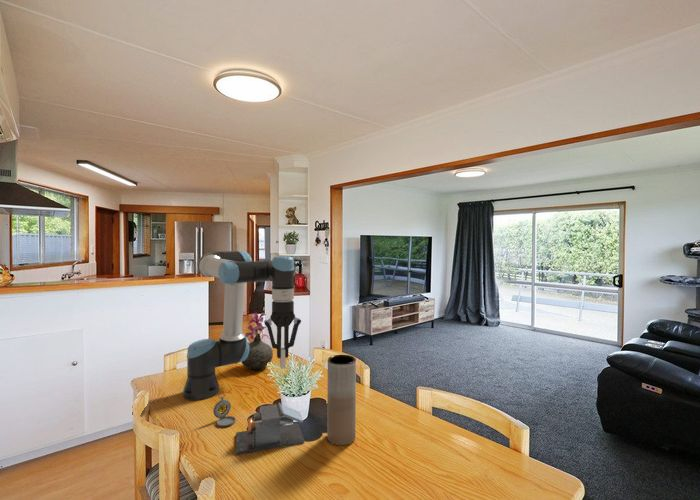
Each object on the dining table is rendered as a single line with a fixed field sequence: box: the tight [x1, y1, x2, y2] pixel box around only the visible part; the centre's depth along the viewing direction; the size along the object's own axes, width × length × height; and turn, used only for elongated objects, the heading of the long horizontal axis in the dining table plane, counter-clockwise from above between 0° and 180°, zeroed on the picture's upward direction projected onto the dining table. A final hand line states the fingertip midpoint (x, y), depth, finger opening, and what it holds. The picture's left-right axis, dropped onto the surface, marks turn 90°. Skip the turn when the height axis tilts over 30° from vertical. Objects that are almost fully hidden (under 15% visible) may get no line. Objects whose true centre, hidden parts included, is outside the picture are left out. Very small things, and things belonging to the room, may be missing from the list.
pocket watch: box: [212, 393, 236, 428], centre depth 129 cm, size 8×8×10 cm
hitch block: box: [235, 403, 305, 456], centre depth 118 cm, size 12×22×10 cm, turn 109°
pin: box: [247, 416, 294, 435], centre depth 118 cm, size 5×15×5 cm, turn 109°
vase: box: [241, 312, 274, 371], centre depth 186 cm, size 17×18×30 cm
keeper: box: [277, 402, 304, 424], centre depth 120 cm, size 8×1×9 cm
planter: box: [326, 354, 357, 446], centre depth 119 cm, size 10×10×28 cm
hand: (282, 366), depth 119 cm, fingers closed
